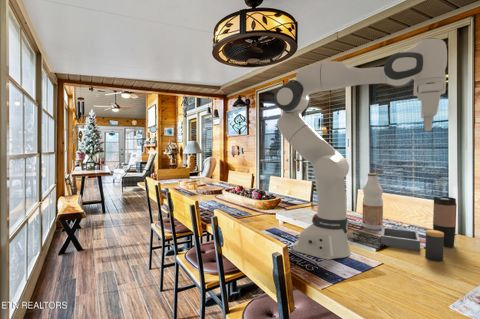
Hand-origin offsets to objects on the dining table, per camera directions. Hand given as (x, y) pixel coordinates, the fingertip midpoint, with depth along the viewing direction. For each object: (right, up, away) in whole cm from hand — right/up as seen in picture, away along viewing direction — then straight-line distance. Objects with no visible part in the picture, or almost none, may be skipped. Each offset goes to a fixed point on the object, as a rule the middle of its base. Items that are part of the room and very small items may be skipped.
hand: (427, 130), depth 93 cm
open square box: (+6, -46, +27) cm, 53 cm away
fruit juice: (+5, -45, +49) cm, 67 cm away
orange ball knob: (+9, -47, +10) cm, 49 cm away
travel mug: (+23, -46, +24) cm, 57 cm away
